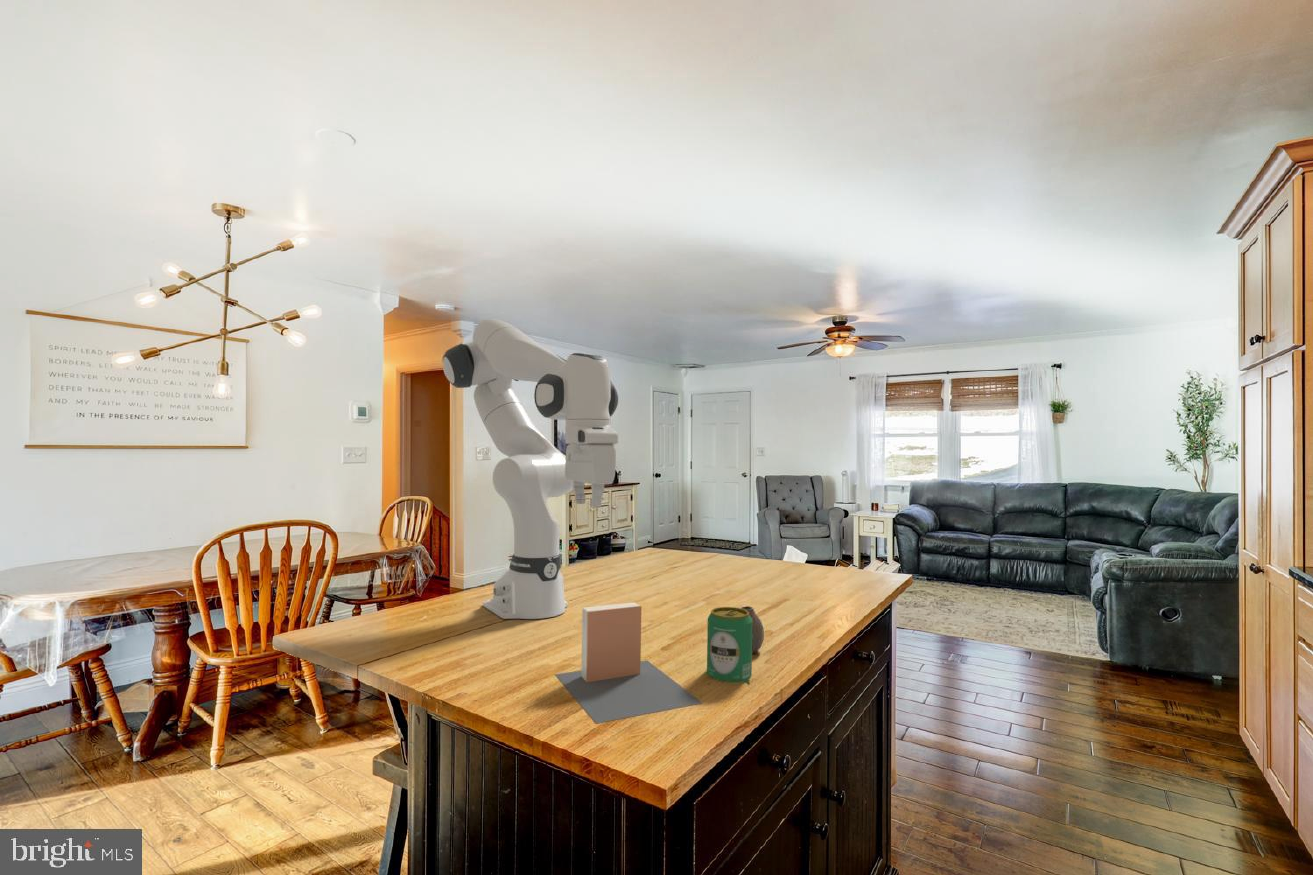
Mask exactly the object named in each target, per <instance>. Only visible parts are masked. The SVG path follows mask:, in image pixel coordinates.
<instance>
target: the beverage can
mask: <svg viewBox="0 0 1313 875" xmlns="http://www.w3.org/2000/svg"><path fill="white" fill-rule="evenodd" d="M706 631H707V635H706V636H707V637H706V638H707V639H706V642H707V644H706V646H707V648H706V650H707V651H706V674H707V676H708V677H710V678H712V679H714V680H717V681H720V682H721V681H722V682H727V683H728V682H730V683H735V682H736V683H739V682H743V683H745V684H746V683H747V682H748V681H750V679H751V677H752V675H753V672H752V669H753V667H752V666H753V664H752V663H753V661H752V660H753V653H752V619H751V617H750V615H749V612H748V611H747V610H744V609H741V607H735V606H721V607H719V606H718V607H716V608H715V607H714V608H713V609H711V610H710V613H709V615H708V617H707V630H706ZM748 683H749V682H748ZM748 683H747V684H748Z"/></svg>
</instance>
